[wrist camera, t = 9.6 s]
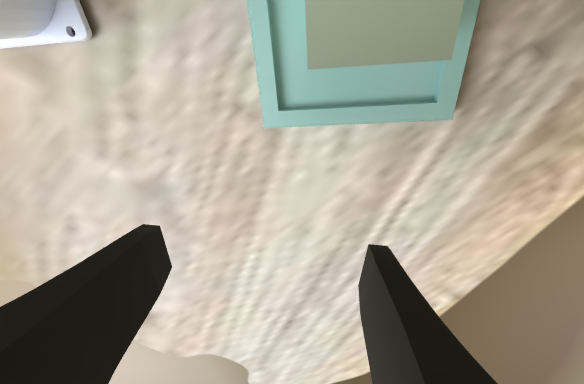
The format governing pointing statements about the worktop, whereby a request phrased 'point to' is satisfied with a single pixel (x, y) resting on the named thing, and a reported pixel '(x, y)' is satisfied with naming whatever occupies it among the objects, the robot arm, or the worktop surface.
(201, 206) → the worktop surface
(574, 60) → the worktop surface
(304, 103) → the tray
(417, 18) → the tea tin
